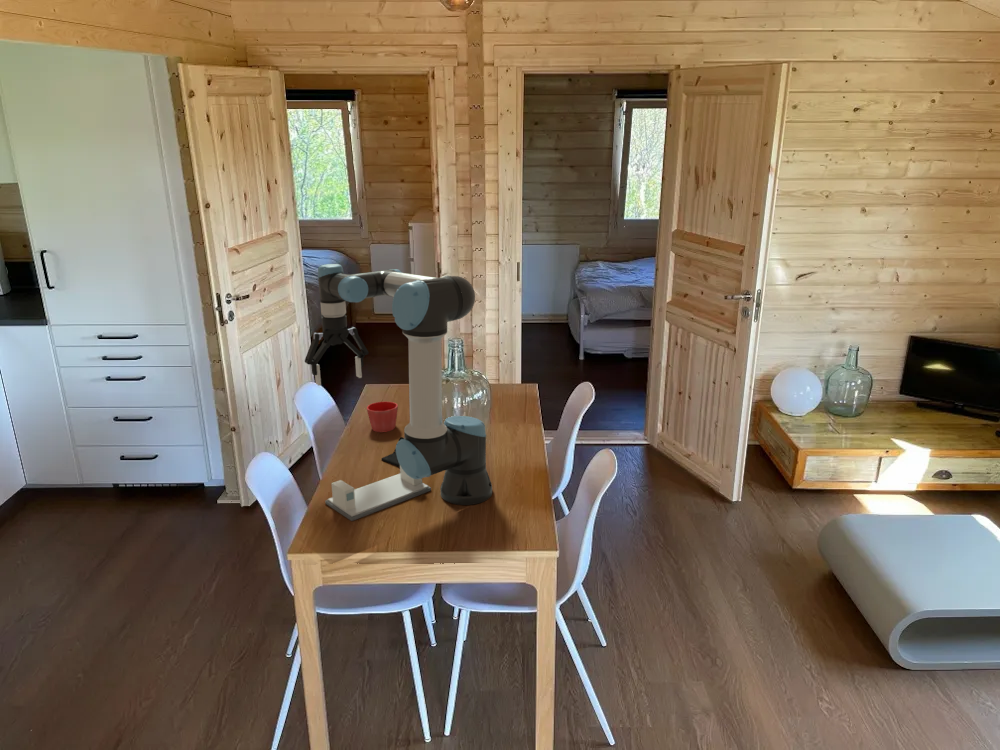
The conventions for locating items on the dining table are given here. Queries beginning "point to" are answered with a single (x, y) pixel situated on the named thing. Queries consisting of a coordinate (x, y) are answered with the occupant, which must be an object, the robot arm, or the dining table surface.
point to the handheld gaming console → (392, 457)
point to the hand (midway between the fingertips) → (339, 380)
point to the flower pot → (382, 416)
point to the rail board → (374, 495)
